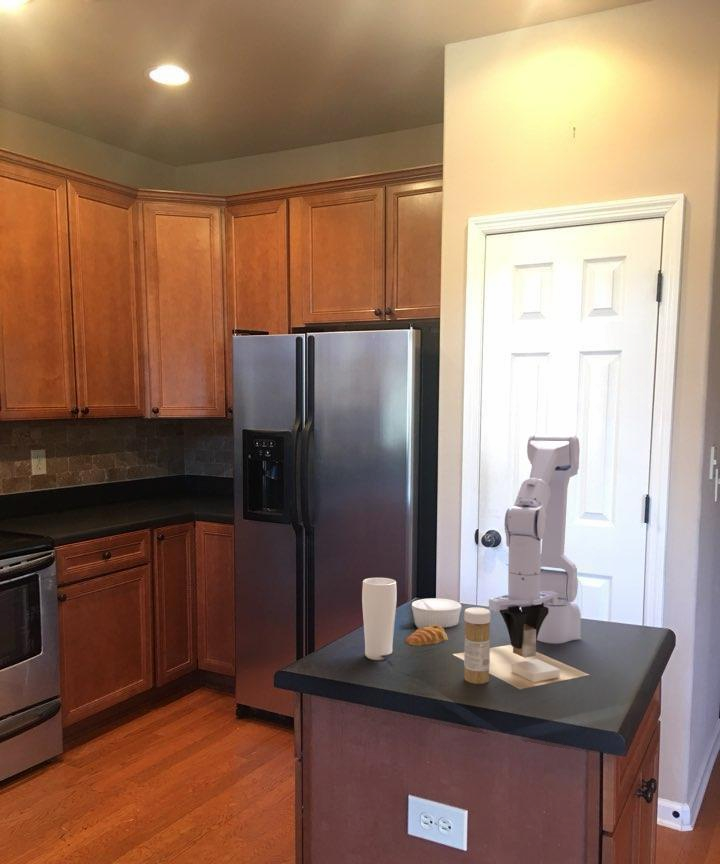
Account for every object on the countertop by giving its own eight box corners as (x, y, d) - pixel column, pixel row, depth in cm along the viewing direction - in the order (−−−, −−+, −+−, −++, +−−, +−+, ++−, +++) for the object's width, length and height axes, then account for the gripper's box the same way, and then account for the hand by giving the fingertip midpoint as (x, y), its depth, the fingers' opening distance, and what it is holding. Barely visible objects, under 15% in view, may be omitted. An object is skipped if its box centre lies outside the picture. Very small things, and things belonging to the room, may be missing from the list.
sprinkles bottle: (477, 679, 128) (478, 605, 128) (495, 687, 124) (496, 611, 124) (458, 684, 125) (458, 608, 125) (475, 692, 121) (476, 614, 121)
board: (517, 649, 145) (517, 643, 145) (589, 681, 127) (589, 674, 127) (452, 660, 138) (452, 654, 138) (519, 696, 120) (519, 689, 120)
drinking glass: (402, 656, 140) (403, 581, 140) (380, 665, 135) (381, 586, 135) (377, 649, 144) (378, 575, 144) (354, 656, 139) (355, 581, 139)
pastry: (421, 655, 142) (421, 636, 142) (396, 647, 147) (396, 629, 147) (451, 645, 148) (451, 627, 148) (426, 638, 153) (426, 621, 153)
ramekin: (401, 626, 162) (401, 603, 161) (433, 617, 169) (434, 595, 169) (438, 637, 153) (438, 613, 153) (471, 627, 161) (471, 604, 161)
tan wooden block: (524, 650, 132) (524, 623, 132) (535, 655, 129) (536, 628, 129) (513, 652, 131) (513, 625, 131) (524, 657, 128) (524, 630, 128)
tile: (537, 658, 131) (560, 669, 126) (536, 667, 131) (559, 677, 126) (511, 663, 128) (533, 674, 123) (511, 672, 128) (533, 683, 123)
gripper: (506, 580, 123) (505, 658, 123) (569, 572, 130) (568, 646, 130) (482, 572, 129) (481, 646, 129) (543, 565, 136) (542, 636, 136)
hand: (523, 645), depth 130 cm, fingers closed on tan wooden block, 3 cm apart
